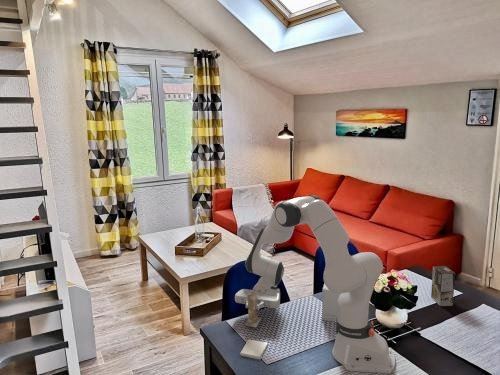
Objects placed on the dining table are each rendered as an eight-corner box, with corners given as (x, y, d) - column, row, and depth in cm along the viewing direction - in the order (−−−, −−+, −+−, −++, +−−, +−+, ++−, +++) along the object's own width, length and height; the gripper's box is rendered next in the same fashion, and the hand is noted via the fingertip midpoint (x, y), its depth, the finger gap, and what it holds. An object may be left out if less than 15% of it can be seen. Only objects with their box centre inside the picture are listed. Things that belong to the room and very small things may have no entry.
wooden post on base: (261, 318, 166) (260, 290, 163) (256, 327, 160) (255, 298, 157) (250, 317, 168) (249, 289, 165) (245, 325, 161) (243, 296, 159)
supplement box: (342, 323, 163) (343, 291, 160) (321, 320, 166) (321, 289, 163) (344, 312, 172) (345, 282, 169) (324, 310, 175) (324, 280, 172)
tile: (267, 342, 150) (260, 356, 141) (267, 346, 150) (260, 360, 142) (248, 339, 152) (240, 352, 144) (248, 342, 153) (240, 356, 144)
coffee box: (453, 306, 175) (456, 273, 171) (439, 306, 175) (441, 273, 171) (443, 296, 184) (446, 265, 180) (430, 296, 184) (432, 265, 180)
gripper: (240, 283, 177) (229, 297, 164) (283, 289, 170) (274, 304, 157) (241, 295, 178) (229, 310, 165) (283, 301, 171) (274, 317, 159)
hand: (252, 307), depth 161 cm, fingers closed on wooden post on base, 3 cm apart
